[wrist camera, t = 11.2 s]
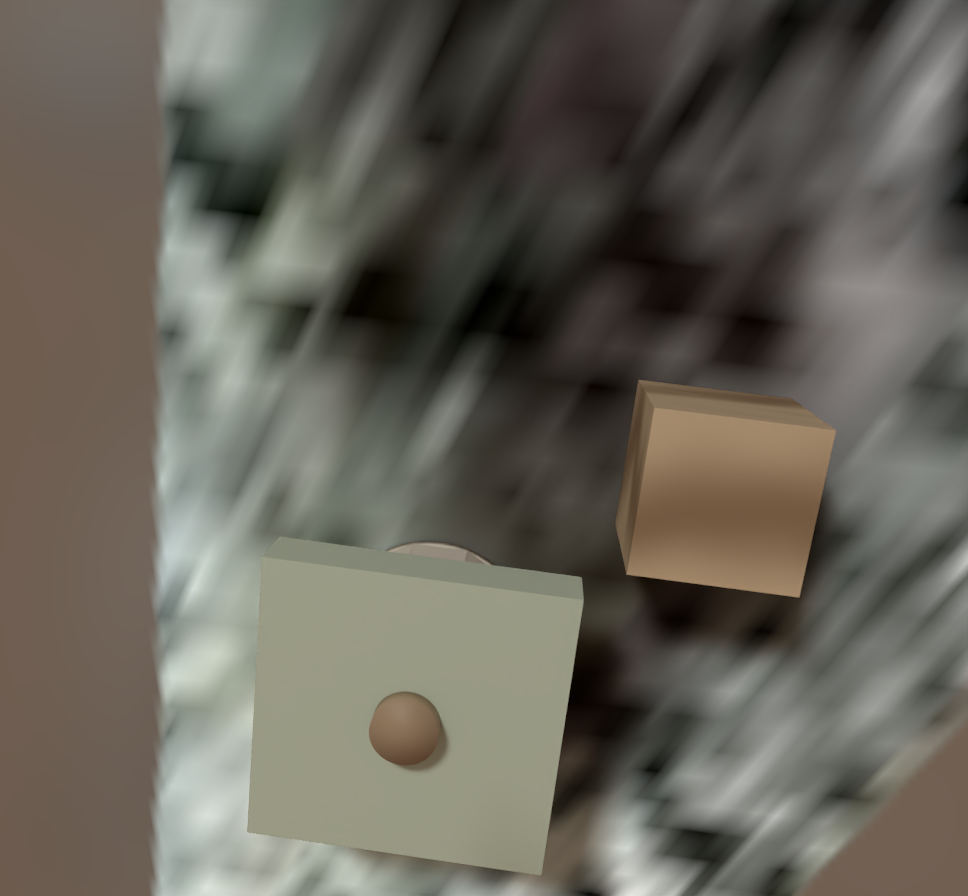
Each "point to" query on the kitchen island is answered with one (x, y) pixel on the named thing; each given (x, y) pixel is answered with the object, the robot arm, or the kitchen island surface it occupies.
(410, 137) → the kitchen island surface
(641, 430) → the block
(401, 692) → the lid
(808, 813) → the kitchen island surface
